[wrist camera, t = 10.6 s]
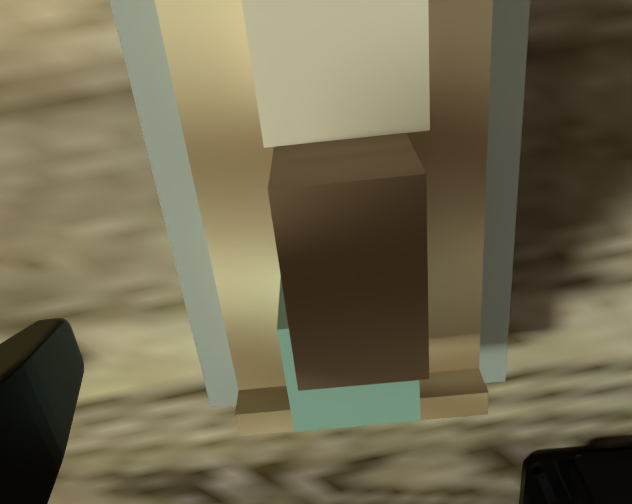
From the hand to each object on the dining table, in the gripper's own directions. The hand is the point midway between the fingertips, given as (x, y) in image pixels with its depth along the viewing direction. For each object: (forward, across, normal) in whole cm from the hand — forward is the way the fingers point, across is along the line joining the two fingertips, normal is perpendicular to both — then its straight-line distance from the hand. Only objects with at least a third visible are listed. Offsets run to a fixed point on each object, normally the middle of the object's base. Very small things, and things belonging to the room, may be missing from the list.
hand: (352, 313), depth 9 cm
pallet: (+8, 0, 0) cm, 8 cm away
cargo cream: (+6, 0, -4) cm, 7 cm away
